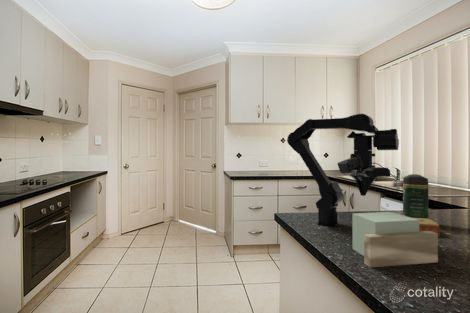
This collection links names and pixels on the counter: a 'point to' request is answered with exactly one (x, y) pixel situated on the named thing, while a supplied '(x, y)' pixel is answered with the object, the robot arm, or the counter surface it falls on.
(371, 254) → the board
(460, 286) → the counter surface
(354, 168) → the robot arm
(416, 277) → the counter surface
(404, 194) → the coffee jar
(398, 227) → the block
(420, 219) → the carton
